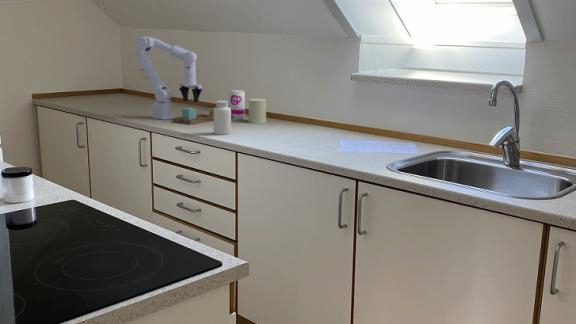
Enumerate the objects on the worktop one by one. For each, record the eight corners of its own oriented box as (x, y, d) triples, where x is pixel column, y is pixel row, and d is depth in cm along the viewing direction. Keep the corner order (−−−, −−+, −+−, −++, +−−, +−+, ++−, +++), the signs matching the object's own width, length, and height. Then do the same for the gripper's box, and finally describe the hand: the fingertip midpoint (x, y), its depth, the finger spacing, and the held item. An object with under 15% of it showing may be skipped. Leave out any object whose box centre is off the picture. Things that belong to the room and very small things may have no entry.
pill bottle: (217, 135, 277) (217, 102, 273) (211, 132, 284) (210, 100, 280) (233, 134, 280) (233, 101, 277) (227, 131, 287) (226, 99, 284)
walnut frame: (172, 121, 312) (172, 118, 312) (200, 117, 328) (200, 113, 327) (190, 124, 305) (190, 120, 304) (218, 120, 320) (218, 116, 320)
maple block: (209, 108, 326) (218, 107, 332) (209, 117, 328) (218, 116, 333) (215, 109, 323) (225, 108, 329) (215, 119, 324) (225, 117, 330)
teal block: (182, 122, 312) (182, 108, 311) (189, 121, 316) (189, 107, 314) (189, 123, 309) (188, 109, 308) (196, 122, 313) (196, 108, 312)
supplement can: (242, 120, 320) (242, 91, 316) (227, 119, 321) (227, 91, 318) (246, 118, 327) (246, 90, 324) (231, 117, 329) (231, 89, 326)
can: (257, 123, 310) (257, 100, 307) (244, 121, 316) (244, 98, 313) (269, 121, 316) (270, 98, 314) (257, 119, 322) (257, 97, 320)
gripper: (174, 75, 317) (175, 101, 320) (194, 76, 308) (195, 103, 311) (184, 74, 322) (185, 99, 325) (204, 76, 314) (204, 102, 317)
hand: (190, 101), depth 319 cm, fingers open, 7 cm apart
